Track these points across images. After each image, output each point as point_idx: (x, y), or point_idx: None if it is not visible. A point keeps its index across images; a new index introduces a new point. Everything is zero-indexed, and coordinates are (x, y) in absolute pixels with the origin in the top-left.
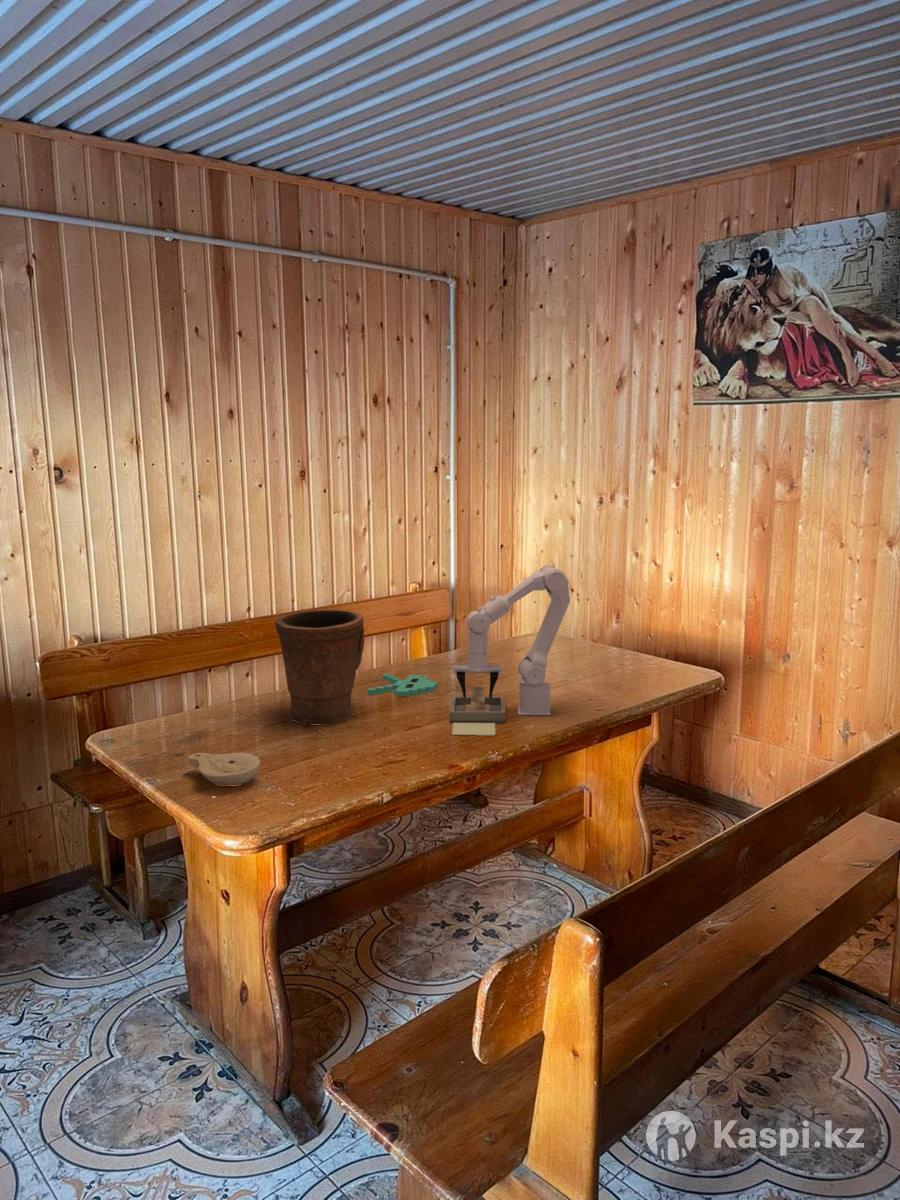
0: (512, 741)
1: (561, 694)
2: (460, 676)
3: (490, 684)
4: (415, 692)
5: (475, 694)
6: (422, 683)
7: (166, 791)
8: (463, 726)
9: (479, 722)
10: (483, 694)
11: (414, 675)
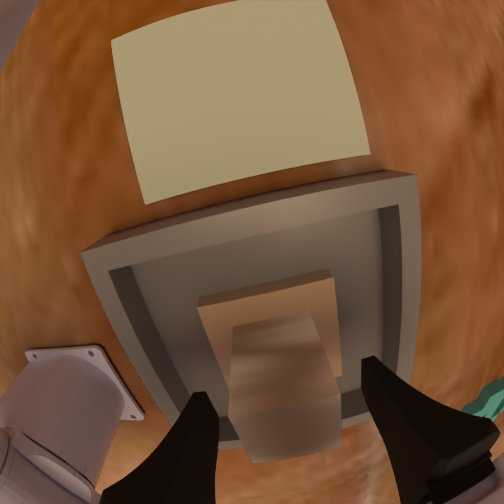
0: (51, 28)
1: (106, 473)
2: (478, 445)
3: (176, 460)
4: (470, 410)
5: (298, 380)
6: None
7: None
8: (302, 101)
9: (233, 200)
10: (236, 391)
11: None
